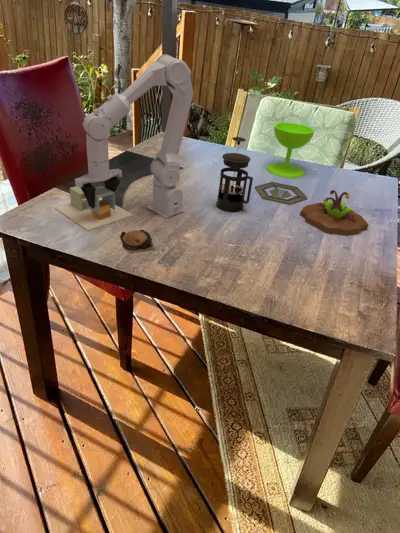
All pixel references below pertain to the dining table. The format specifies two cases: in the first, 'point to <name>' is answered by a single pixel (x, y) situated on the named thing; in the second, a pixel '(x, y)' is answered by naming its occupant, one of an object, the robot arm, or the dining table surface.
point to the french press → (233, 190)
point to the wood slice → (137, 241)
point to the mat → (86, 217)
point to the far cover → (76, 197)
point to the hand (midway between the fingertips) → (100, 204)
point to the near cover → (103, 198)
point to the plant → (334, 216)
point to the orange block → (103, 210)
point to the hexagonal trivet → (264, 195)
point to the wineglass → (290, 147)
